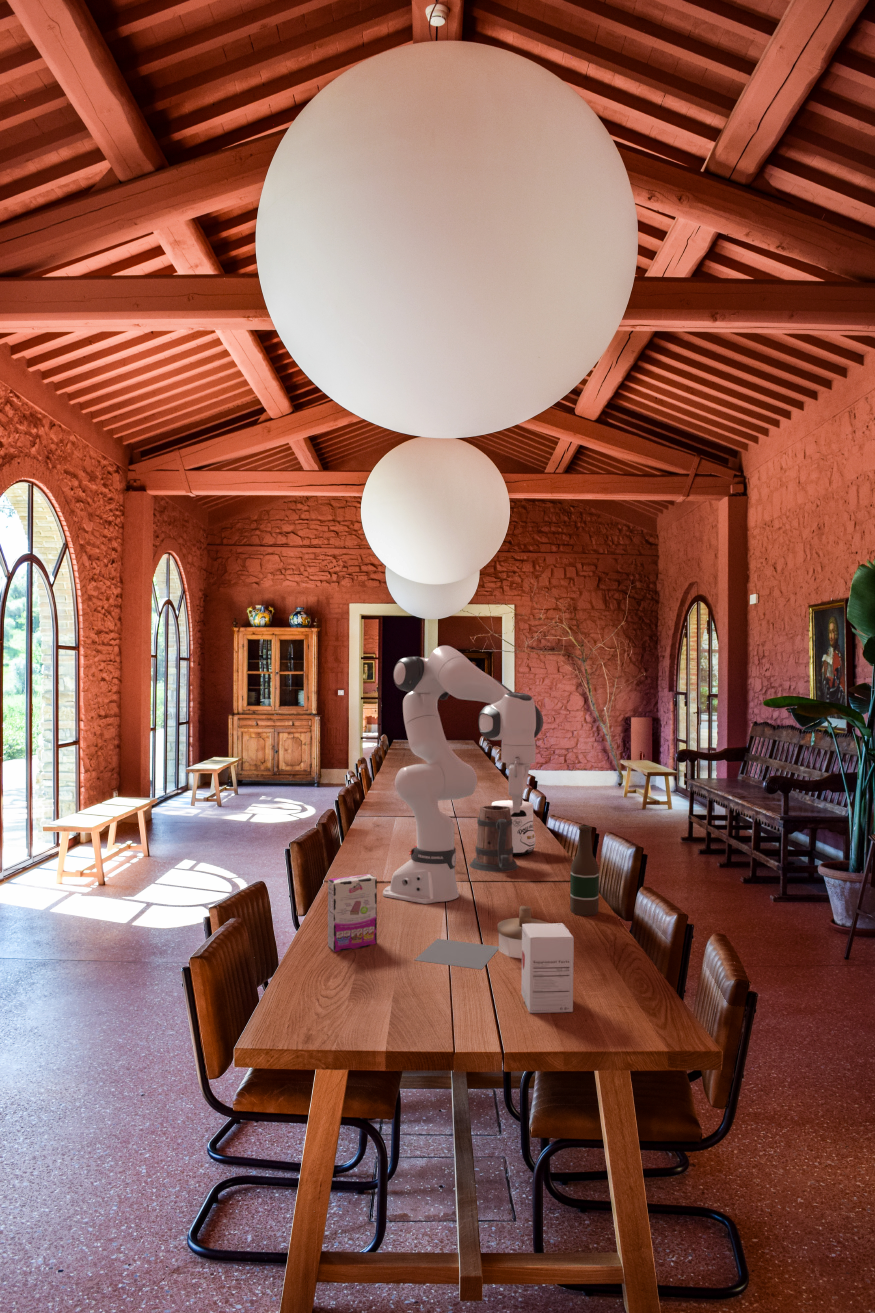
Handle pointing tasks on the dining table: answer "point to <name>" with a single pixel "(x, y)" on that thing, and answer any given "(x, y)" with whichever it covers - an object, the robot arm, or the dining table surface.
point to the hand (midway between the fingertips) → (517, 809)
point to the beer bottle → (584, 877)
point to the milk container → (521, 827)
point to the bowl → (510, 946)
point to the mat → (458, 954)
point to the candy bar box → (352, 912)
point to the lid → (517, 923)
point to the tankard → (494, 840)
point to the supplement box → (547, 968)
